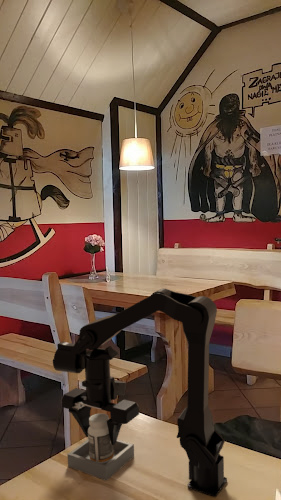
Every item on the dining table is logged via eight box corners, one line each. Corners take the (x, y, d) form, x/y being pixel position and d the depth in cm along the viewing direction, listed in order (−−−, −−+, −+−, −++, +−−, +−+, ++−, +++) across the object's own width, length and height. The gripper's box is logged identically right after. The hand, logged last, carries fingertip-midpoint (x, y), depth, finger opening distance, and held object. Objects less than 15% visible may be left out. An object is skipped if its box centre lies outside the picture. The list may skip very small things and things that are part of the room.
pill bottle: (115, 451, 107) (113, 412, 106) (111, 465, 102) (109, 423, 101) (92, 451, 108) (89, 412, 107) (87, 465, 102) (84, 423, 101)
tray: (134, 456, 106) (133, 444, 106) (106, 480, 97) (105, 467, 97) (97, 444, 112) (96, 432, 112) (68, 466, 103) (67, 454, 103)
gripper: (150, 370, 104) (152, 434, 106) (88, 358, 114) (90, 417, 116) (123, 387, 95) (126, 457, 97) (58, 372, 105) (61, 436, 107)
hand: (100, 440), depth 104 cm, fingers open, 7 cm apart
